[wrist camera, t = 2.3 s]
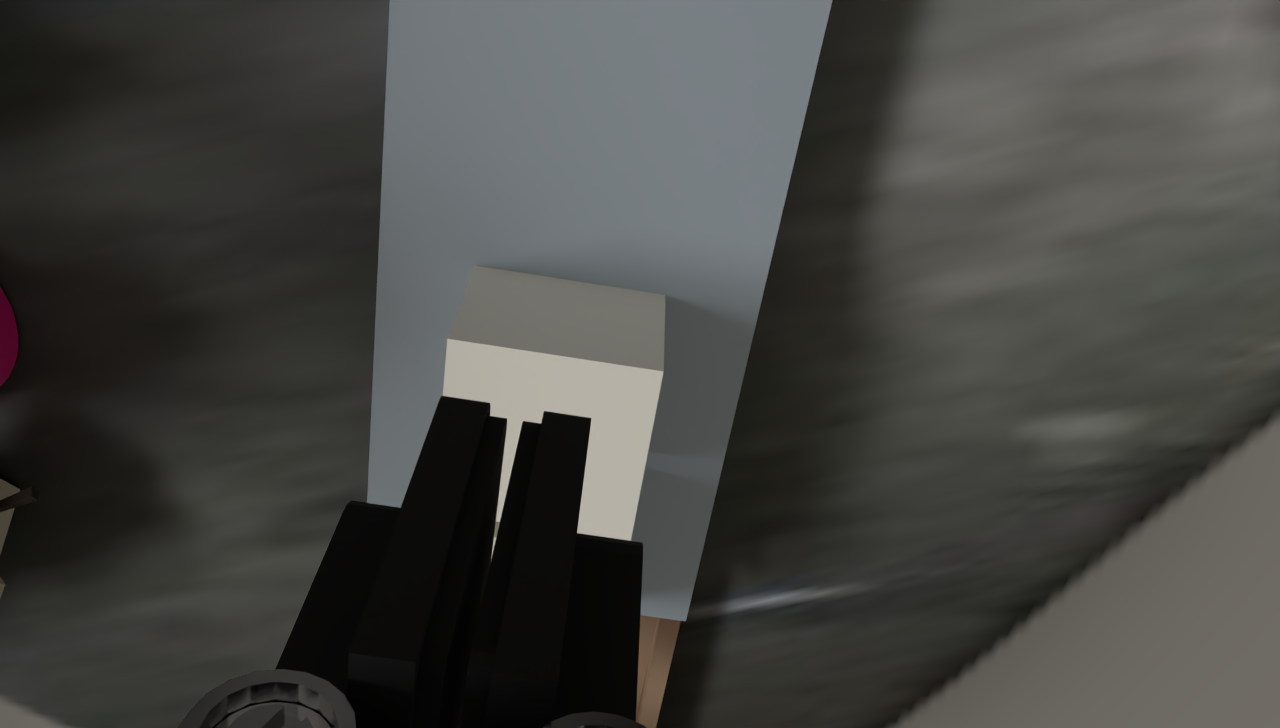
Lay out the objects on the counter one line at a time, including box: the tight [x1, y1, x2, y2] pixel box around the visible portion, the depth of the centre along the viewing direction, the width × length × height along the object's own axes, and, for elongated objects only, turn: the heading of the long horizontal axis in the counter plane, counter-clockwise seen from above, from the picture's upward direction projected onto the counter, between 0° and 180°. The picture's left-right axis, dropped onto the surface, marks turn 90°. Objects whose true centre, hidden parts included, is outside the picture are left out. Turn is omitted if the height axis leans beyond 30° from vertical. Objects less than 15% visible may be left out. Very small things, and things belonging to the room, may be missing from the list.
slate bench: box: [367, 0, 832, 621], centre depth 31 cm, size 20×10×2 cm, turn 171°
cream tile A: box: [443, 265, 665, 541], centre depth 29 cm, size 5×5×4 cm
